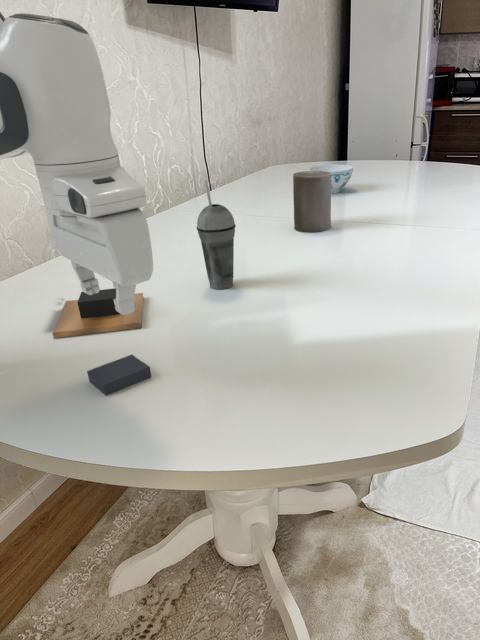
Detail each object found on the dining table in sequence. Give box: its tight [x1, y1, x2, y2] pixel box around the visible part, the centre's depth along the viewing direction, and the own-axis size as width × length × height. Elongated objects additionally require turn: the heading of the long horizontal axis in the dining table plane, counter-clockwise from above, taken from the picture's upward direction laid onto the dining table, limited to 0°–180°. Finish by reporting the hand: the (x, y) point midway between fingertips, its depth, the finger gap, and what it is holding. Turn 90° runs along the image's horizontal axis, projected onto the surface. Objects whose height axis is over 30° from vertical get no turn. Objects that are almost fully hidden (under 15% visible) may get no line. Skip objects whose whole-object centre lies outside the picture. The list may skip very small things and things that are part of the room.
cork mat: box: [52, 292, 145, 339], centre depth 91 cm, size 14×14×1 cm
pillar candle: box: [292, 168, 332, 233], centre depth 134 cm, size 10×10×15 cm
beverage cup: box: [196, 179, 237, 291], centre depth 98 cm, size 7×7×20 cm
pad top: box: [86, 354, 152, 397], centre depth 69 cm, size 6×5×3 cm
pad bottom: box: [77, 287, 120, 319], centre depth 91 cm, size 6×5×3 cm
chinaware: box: [307, 164, 354, 194], centre depth 177 cm, size 15×15×8 cm
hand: (107, 302), depth 64 cm, fingers open, 8 cm apart
